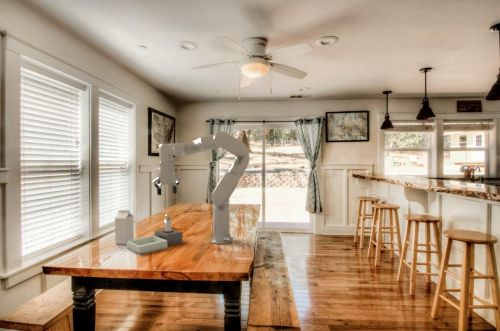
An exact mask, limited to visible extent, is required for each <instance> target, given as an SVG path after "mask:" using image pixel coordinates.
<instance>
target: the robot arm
mask: <svg viewBox="0 0 500 331" xmlns="http://www.w3.org/2000/svg"><path fill="white" fill-rule="evenodd" d="M158 148H159V149H158V150H159V152H158V153H159V154H158V155H159V167H158V168H157V171H156V172H157V174H156V178H155V179H154V180H152V184H153V185H154V187H155V188H156V192H157V195H158V196H162V188H161V187H162V186H165V185H166V186H167V185H172V194H173V195H174V194H175V195H176V194H177V190H178V186H179V184H180V182H181V179H180V178H178V177H177V176H176V170H175V167H174V166H175V164H176V163H175V162H174V156H175V157H185V156H190V155H194V154H198V153H203V152H207V151H212V150H216V149H220V148H221V149H222V150H225V151H226V152H228V153H230V154H232V155H233V156H235V157H234V160H233V162H232V163H231V165H230V167H229V169H228V170H227V172H225V173H224V174H223V175H222V176H221V179H220V180H219V182H218V183H217V185H216V186H215V188H214V189H213V191H212V192H211V196H210V200H211V202H212V226H213V227H212V232H213V233H212V235H213V236H212V237H211V238H210V243H212V244H214V245H215V244H216V245H217V244H218V245H224V244H230V243H231V242H233V239H234V237H233V236H232V235H231V233H230V198H231V196H232V195H233V193H234V192H235V190H236V189H237V187H238V184H239V182H240V180H241V178H242V176H243V175H244V173H245V171H246V170H247V168H248V166H249V163H250V152H249V150H248V148H247V146H246V144H245V142H243V141H241V140H239V139H238V138H236V137H234V136H233V135H230V134H229V133H227V132H225V131H221V130H220V131H218V132H216V133H214V134H210V135H205V136H200V137H198V138H197V139H195V140H193V141H188V142H185V143H180V142H174V143H161V144H159V146H158Z"/></svg>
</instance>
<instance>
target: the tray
mask: <svg viewBox="0 0 500 331" xmlns="http://www.w3.org/2000/svg"><path fill="white" fill-rule="evenodd" d="M126 249H127V250H129V251H131V252H132V253H135V254H137V255H139V256H141V255H145V254H148V253H153V252H156V251H160V250H165V249H168V246H167V240H164V239H162V238H159V237H156V236H155V235H149V236H144V237H140V238H134V240H130V241H127V244H126Z"/></svg>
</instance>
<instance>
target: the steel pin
mask: <svg viewBox="0 0 500 331" xmlns="http://www.w3.org/2000/svg"><path fill="white" fill-rule="evenodd" d="M164 229H165V233H170V232H171V229H172V214H170V213H169V214H164Z"/></svg>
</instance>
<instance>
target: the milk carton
mask: <svg viewBox="0 0 500 331" xmlns="http://www.w3.org/2000/svg"><path fill="white" fill-rule="evenodd" d="M130 211H131V210H128V209H119V210H118V213H117V214H116V215H115V217H114V234H115V235H114V238H115V239H114V241H115V242H114V243H115V244H116V245H127V241H130V240H135V238H134V237H135V236H134V235H135V234H134V215H133V214H132V213H131V212H130Z"/></svg>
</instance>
